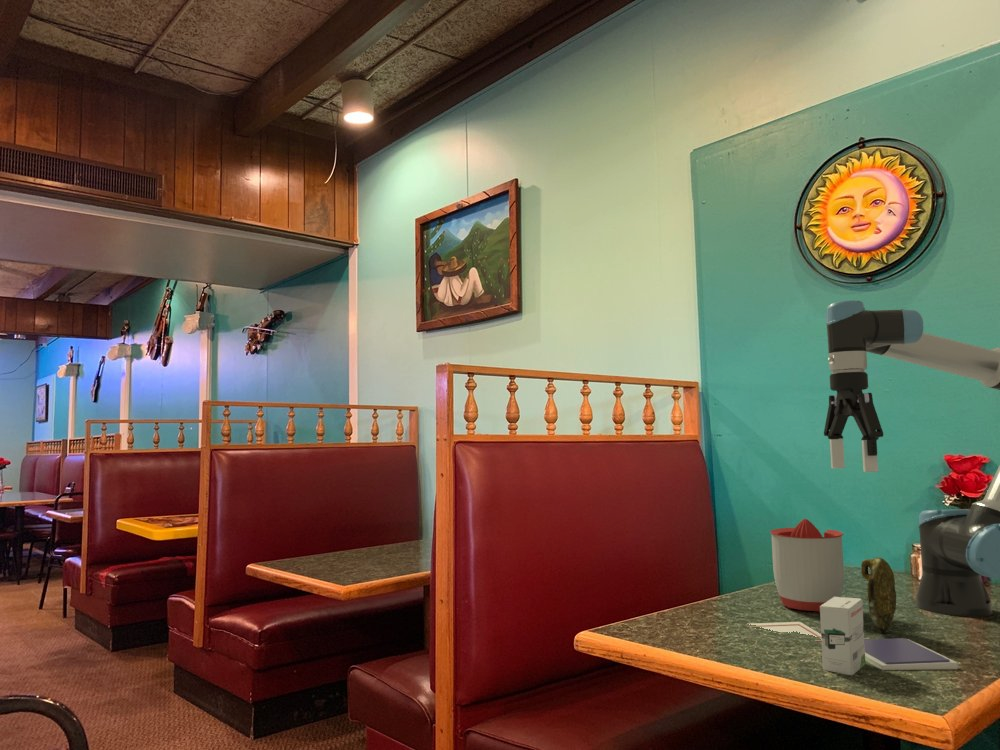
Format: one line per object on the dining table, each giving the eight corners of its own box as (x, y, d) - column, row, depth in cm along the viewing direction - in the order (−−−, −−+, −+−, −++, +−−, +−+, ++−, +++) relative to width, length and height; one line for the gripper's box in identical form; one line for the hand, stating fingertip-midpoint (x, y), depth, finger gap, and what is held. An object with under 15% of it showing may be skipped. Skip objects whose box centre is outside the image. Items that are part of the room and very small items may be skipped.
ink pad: (908, 646, 138) (907, 637, 138) (957, 671, 124) (957, 660, 124) (840, 648, 137) (840, 639, 138) (882, 673, 123) (881, 663, 124)
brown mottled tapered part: (880, 639, 143) (876, 561, 144) (855, 635, 146) (851, 558, 147) (899, 630, 149) (894, 554, 150) (874, 625, 152) (870, 552, 153)
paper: (799, 623, 155) (799, 621, 155) (837, 645, 139) (837, 643, 139) (725, 625, 155) (725, 623, 155) (754, 648, 139) (754, 646, 139)
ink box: (836, 662, 130) (833, 594, 131) (867, 668, 127) (863, 598, 128) (821, 676, 123) (817, 604, 124) (853, 682, 120) (849, 608, 121)
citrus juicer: (857, 602, 171) (852, 516, 173) (836, 619, 158) (830, 524, 159) (789, 594, 181) (785, 512, 183) (763, 608, 168) (759, 520, 169)
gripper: (805, 376, 173) (810, 467, 171) (861, 367, 148) (868, 474, 147) (836, 375, 173) (841, 466, 172) (898, 367, 148) (904, 473, 147)
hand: (853, 470), depth 159 cm, fingers open, 13 cm apart
